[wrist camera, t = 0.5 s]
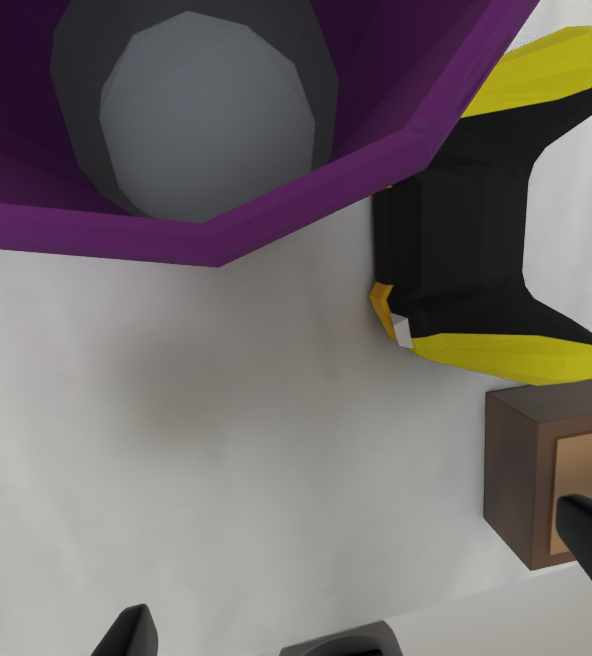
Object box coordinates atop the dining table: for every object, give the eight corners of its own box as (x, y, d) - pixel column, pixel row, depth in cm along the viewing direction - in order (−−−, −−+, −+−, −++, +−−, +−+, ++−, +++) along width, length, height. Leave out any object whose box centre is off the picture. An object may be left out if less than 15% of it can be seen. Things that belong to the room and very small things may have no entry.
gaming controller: (550, 71, 18) (358, 75, 17) (678, -2, 13) (410, -4, 12) (529, 356, 22) (367, 376, 20) (622, 392, 16) (411, 422, 15)
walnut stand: (579, 499, 25) (644, 548, 20) (483, 519, 24) (532, 574, 20) (590, 374, 22) (665, 402, 18) (485, 392, 22) (540, 425, 18)
